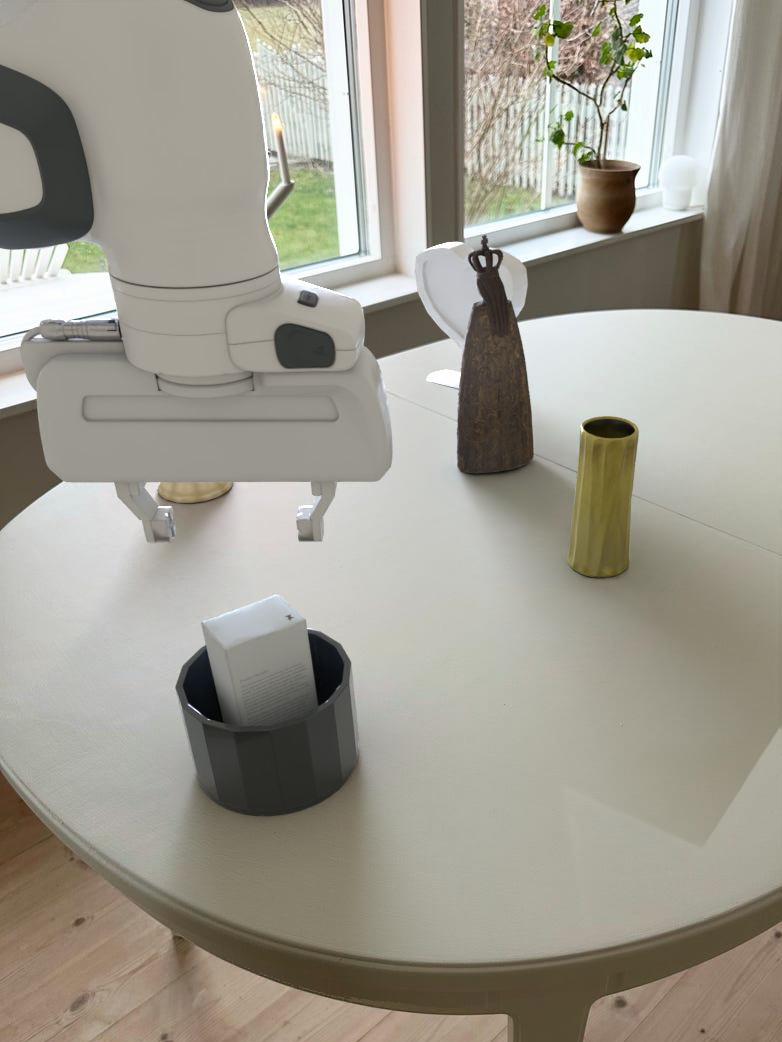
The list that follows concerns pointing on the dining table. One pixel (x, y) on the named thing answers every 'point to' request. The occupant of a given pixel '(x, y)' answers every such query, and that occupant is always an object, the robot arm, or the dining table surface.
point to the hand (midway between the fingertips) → (237, 538)
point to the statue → (493, 379)
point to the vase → (603, 497)
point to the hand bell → (192, 491)
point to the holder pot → (273, 739)
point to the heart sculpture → (460, 291)
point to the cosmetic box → (261, 663)
